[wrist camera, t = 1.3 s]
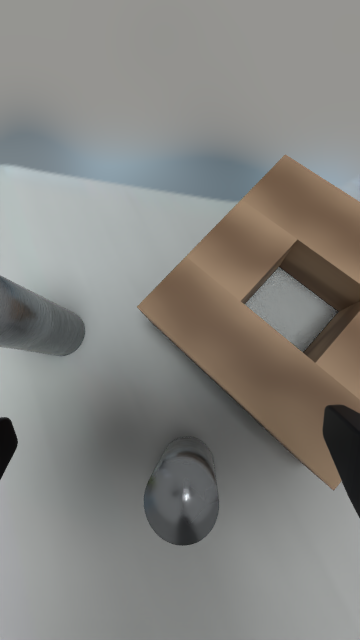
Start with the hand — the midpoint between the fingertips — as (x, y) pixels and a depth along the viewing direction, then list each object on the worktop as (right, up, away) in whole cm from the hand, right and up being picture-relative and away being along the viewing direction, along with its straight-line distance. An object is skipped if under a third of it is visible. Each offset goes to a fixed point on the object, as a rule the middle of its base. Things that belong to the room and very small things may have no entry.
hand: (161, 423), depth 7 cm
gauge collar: (+9, +3, +14) cm, 17 cm away
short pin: (+1, -8, +12) cm, 15 cm away
